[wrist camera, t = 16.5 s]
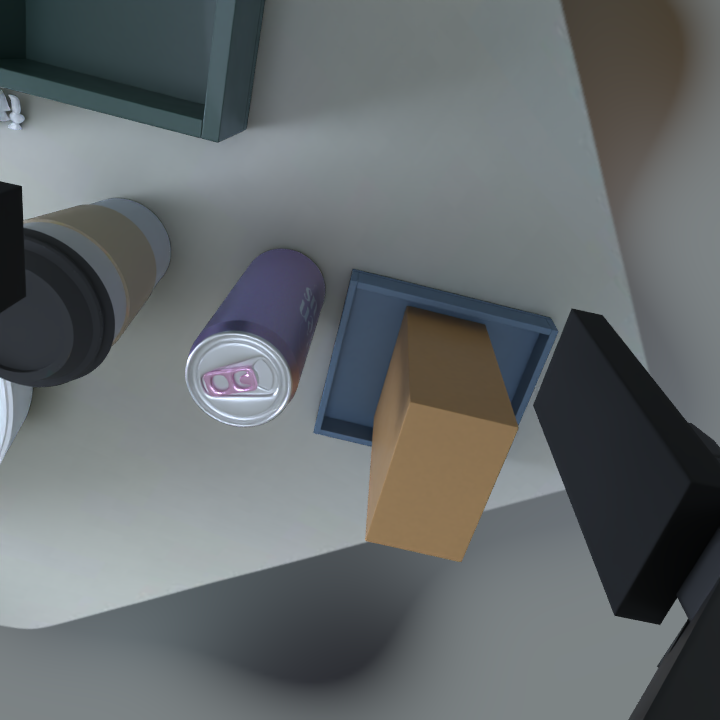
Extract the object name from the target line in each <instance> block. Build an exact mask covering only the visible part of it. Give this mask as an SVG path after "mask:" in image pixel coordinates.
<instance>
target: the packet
mask: <svg viewBox="0 0 720 720" xmlns="http://www.w3.org/2000/svg"><path fill="white" fill-rule="evenodd" d="M518 428H519V427H518V424H517V421H516V418H515V415H514V412H513V409H512V406H511V402H510V399H509V396H508V393H507V390H506V387H505V384H504V381H503V378H502V375H501V372H500V369H499V365H498V362H497V359H496V356H495V353H494V350H493V347H492V344H491V341H490V338H489V335H488V332H487V328H486V325H484V324H480V323H476V322H472V321H468V320H464V319H460V318H456V317H452V316H448V315H444V314H440V313H436V312H432V311H428V310H424V309H419V308H415V307H411V306H407V307H406V310H405V313H404V317H403V320H402V324H401V327H400V330H399V334H398V337H397V341H396V344H395V347H394V351H393V354H392V358H391V361H390V364H389V368H388V371H387V375H386V378H385V381H384V385H383V388H382V392H381V395H380V398H379V402H378V405H377V409H376V412H375V415H374V423H373V437H372V452H371V466H370V480H369V495H368V509H367V523H366V538H365V540H366V541H368V542H373V543H378V544H382V545H386V546H391V547H395V548H400V549H404V550H409V551H413V552H418V553H422V554H427V555H431V556H436V557H440V558H445V559H449V560H453V561H458V562H461V561H462V559H463V557H464V555H465V552H466V550H467V548H468V545H469V543H470V541H471V538H472V536H473V534H474V531H475V529H476V527H477V524H478V522H479V519H480V517H481V515H482V513H483V510H484V508H485V506H486V503H487V501H488V499H489V496H490V494H491V491H492V489H493V487H494V484H495V482H496V480H497V477H498V475H499V473H500V470H501V468H502V466H503V463H504V461H505V459H506V456H507V454H508V452H509V449H510V447H511V445H512V442H513V440H514V438H515V435H516V433H517V431H518Z"/></svg>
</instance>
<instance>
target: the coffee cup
mask: <svg viewBox="0 0 720 720" xmlns="http://www.w3.org/2000/svg"><path fill="white" fill-rule="evenodd" d="M23 227H24V251H25V275H26V297H25V298H23V299H21V300H20V301H18V302H17V303H15V304H14V305H12V306H11V307H9V308H7V309H6V310H4V311H3V312H1V313H0V378H2V379H5V380H7V381H10V382H13V383H16V384H20V385H24V386H30V387H51V386H57V385H61V384H64V383H67V382H69V381H71V380H75V379H78V378H80V377H83V376H85V375H87V374H89V373H90V372H92V371H93V370H94V369H96V368H97V367H98V366H99V365H100V364H101V363H102V362H103V360H104V359H105V358H106V356H107V354H108V353H109V351H110V348H111V346H113V345H114V344H115V343H116V342H117V341H118V339H119V338H120V337H121V335H122V334H123V333H124V331H125V330H126V328H127V327H128V326H129V324H130V323H131V321H132V320H133V319H134V317H135V316H136V314H137V313H138V312H139V310H140V309H141V308H142V306H143V305H144V303H145V302H146V301H147V299H148V298H149V296H150V295H151V293H152V291H153V288H154V287H155V286H156V284H157V283H158V282H159V280H160V279H161V278H162V276H163V275H164V274H165V272H166V270H167V268H168V266H169V262H170V257H171V246H170V241H169V237H168V234H167V232H166V230H165V228H164V226H163V224H162V223H161V221H160V220H159V219H158V218H157V217H156V215H155V214H154V213H153V212H151V211H150V210H149V209H148V208H146V207H145V206H143V205H141V204H139V203H137V202H135V201H132V200H128V199H123V198H111V199H106V200H103V201H99V202H96V203H93V204H89V205H79V206H75V207H71V208H67V209H64V210H60V211H56V212H53V213H49V214H45V215H42V216H38V217H34V218H31V219H27V220H23Z"/></svg>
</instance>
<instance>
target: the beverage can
mask: <svg viewBox="0 0 720 720" xmlns="http://www.w3.org/2000/svg"><path fill="white" fill-rule="evenodd" d="M324 298H325V283H324V279H323V276H322V274H321V272H320V270H319V269H318V267H317V266H316V265H315V263H314V262H313V261H312V260H310V259H309V258H308V257H307V256H305V255H303V254H301V253H299V252H297V251H294V250H290V249H273V250H269V251H267V252H264V253H262V254H261V255H259V256H258V257H256V258H255V259H254V260H253V261H252V263H251V264H250V265H249V267H248V268H247V269H246V271H245V272H244V274H243V275H242V276H241V278H240V279H239V280H238V282H237V283H236V285H235V286H234V287H233V289H232V290H231V292H230V293H229V294H228V296H227V297H226V299H225V300H224V301H223V303H222V304H221V305H220V307H219V308H218V310H217V311H216V312H215V314H214V315H213V317H212V318H211V319H210V321H209V322H208V324H207V325H206V326H205V328H204V329H203V330H202V332H201V333H200V335H199V336H198V337H197V339H196V340H195V342H194V343H193V345H192V347H191V350H190V353H189V358H188V361H187V365H186V372H185V376H186V384H187V387H188V390H189V393H190V395H191V397H192V398H193V400H194V401H195V403H196V404H197V405H198V406H199V407H200V409H201V410H203V411H204V412H205V413H206V414H207V415H209V416H210V417H212V418H213V419H215V420H217V421H219V422H222V423H224V424H227V425H231V426H236V427H253V426H258V425H262V424H265V423H267V422H269V421H271V420H273V419H274V418H276V417H277V416H278V415H279V414H280V413H281V412H282V411H283V410H284V409H285V407H286V406H287V404H288V403H289V402H290V401H291V399H292V398H293V396H294V394H295V392H296V390H297V387H298V383H299V380H300V377H301V374H302V370H303V367H304V364H305V361H306V357H307V354H308V351H309V348H310V344H311V341H312V338H313V335H314V331H315V328H316V325H317V321H318V318H319V315H320V312H321V308H322V305H323V302H324Z"/></svg>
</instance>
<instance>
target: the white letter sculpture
mask: <svg viewBox="0 0 720 720" xmlns="http://www.w3.org/2000/svg"><path fill="white" fill-rule="evenodd" d="M32 392H33V387H30V386H24V385H20V384H16V383H13V382H10V381H7V380H5V379H2V378H0V463H1V462H2V460H3V458H4V456H5V454H6V453H7V451H8V449H9V447H10V445H11V444H12V442H13V440H14V438H15V436H16V435H17V433H18V431H19V429H20V427H21V426H22V424H23V422H24V420H25V418H26V416H27V414H28V411H29V408H30V404H31V399H32Z"/></svg>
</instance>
